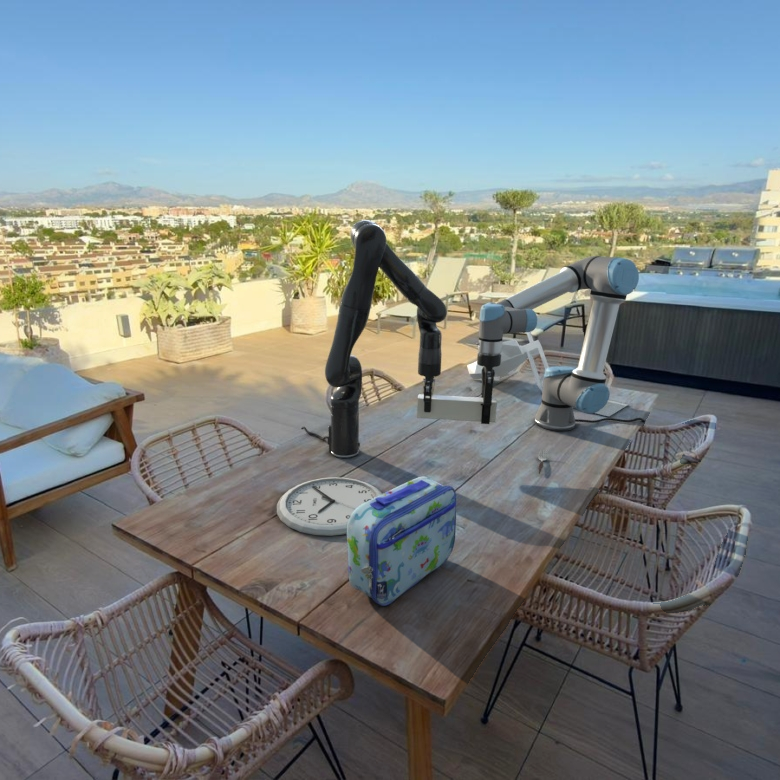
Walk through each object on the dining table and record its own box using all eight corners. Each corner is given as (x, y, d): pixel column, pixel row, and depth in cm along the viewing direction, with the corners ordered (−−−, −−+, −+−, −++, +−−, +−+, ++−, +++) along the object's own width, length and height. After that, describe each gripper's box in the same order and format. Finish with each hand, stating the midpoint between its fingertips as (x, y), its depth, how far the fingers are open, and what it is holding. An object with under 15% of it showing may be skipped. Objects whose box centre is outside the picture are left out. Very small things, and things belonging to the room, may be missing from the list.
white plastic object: (488, 421, 262) (468, 398, 237) (469, 348, 284) (449, 320, 260) (560, 397, 250) (547, 371, 225) (534, 322, 272) (520, 291, 247)
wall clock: (392, 527, 129) (268, 531, 127) (391, 533, 130) (269, 537, 127) (383, 473, 158) (282, 475, 155) (383, 478, 158) (282, 480, 156)
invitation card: (608, 416, 214) (573, 407, 224) (608, 416, 214) (573, 408, 224) (628, 404, 229) (594, 396, 238) (628, 405, 229) (594, 397, 238)
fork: (534, 474, 163) (535, 468, 162) (539, 454, 177) (539, 449, 176) (543, 475, 162) (544, 469, 161) (547, 455, 176) (547, 450, 175)
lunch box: (376, 619, 101) (377, 524, 95) (340, 592, 109) (339, 502, 102) (459, 562, 119) (465, 479, 113) (424, 542, 126) (427, 463, 120)
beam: (494, 417, 177) (496, 398, 175) (495, 422, 173) (497, 402, 170) (417, 413, 180) (418, 394, 178) (416, 417, 176) (417, 398, 173)
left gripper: (420, 354, 179) (418, 402, 184) (416, 365, 165) (414, 416, 170) (442, 355, 178) (439, 403, 183) (440, 366, 164) (438, 417, 169)
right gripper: (476, 346, 177) (472, 411, 184) (479, 359, 160) (474, 429, 167) (498, 347, 176) (493, 412, 183) (504, 359, 160) (498, 431, 166)
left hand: (427, 409), depth 176 cm, fingers closed on beam, 4 cm apart
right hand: (484, 420), depth 175 cm, fingers closed on beam, 5 cm apart
